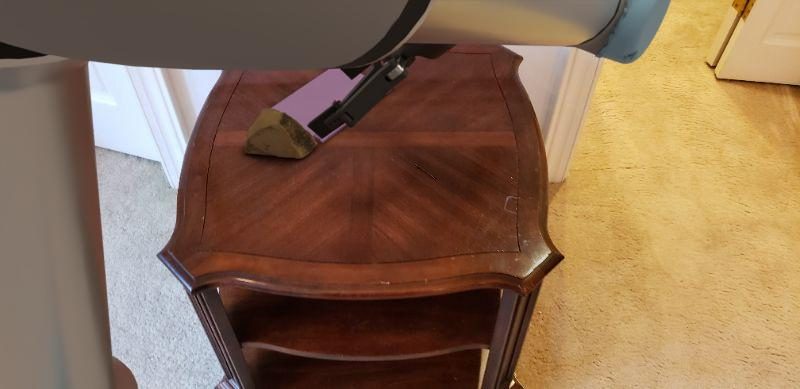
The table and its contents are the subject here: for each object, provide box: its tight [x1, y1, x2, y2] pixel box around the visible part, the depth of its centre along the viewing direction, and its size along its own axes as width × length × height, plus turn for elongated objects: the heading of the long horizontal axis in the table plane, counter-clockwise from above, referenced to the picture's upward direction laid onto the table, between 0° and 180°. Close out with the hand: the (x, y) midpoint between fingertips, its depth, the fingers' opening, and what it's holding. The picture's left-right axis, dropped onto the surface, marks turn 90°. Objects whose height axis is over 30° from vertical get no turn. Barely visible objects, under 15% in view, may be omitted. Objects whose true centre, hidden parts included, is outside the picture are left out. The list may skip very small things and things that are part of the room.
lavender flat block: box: [271, 69, 393, 144], centre depth 98 cm, size 18×13×1 cm
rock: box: [243, 107, 318, 159], centre depth 87 cm, size 11×9×10 cm
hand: (331, 100), depth 78 cm, fingers open, 13 cm apart
